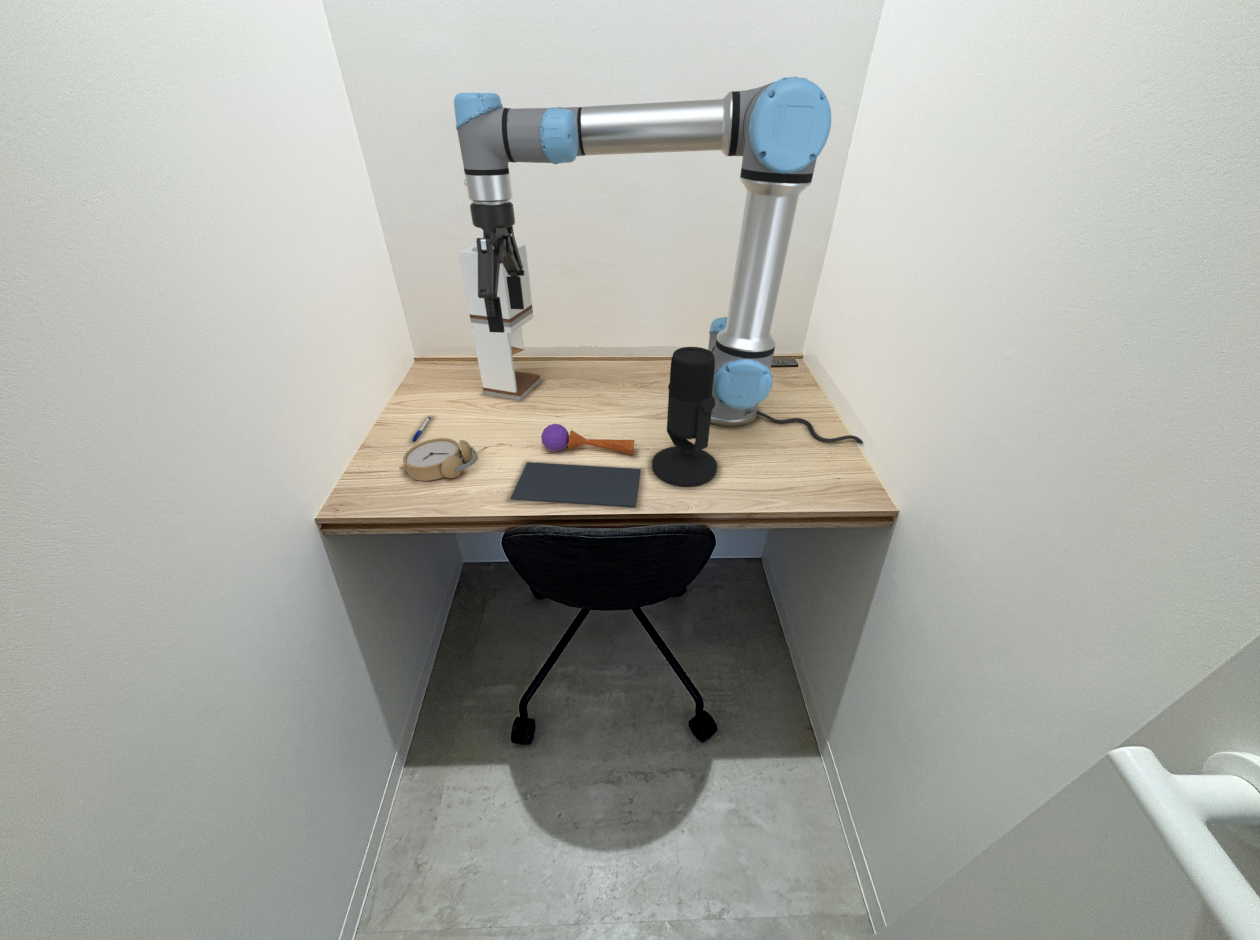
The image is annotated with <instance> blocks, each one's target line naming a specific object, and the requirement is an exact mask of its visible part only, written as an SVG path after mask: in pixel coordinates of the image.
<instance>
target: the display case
mask: <svg viewBox="0 0 1260 940" xmlns="http://www.w3.org/2000/svg"><path fill="white" fill-rule="evenodd" d="M517 248H518V251H519V255H520V258H521V262H522V266H523V269H522V270H524V276H519V277H520V279H521V287H522V295H523V304H524V309H511V308H510V300H509V293H508V286H507V278H506V277H507V276H510V275H508V274H507V271H506V269H505V267H504V265H503V263H501V264H500V270H499V281H498V292H497V297H500V303H501V310H502V317H503V324H504V330H505V331H504V333H499V332H490V331H489V325H488V319H487V313H486V307H485V301H484V298H479V297H478V250H477V244H475V245H472V246H469V247H466V248H464V249H462V250H460V251H457V254H458V260H459V265H460V266H459V267H460V271H461V275H462V281H463V287H464V291H465V292H464V293H465V297H466V304H467V309H468V314H469V319H470V326H471V330H472V331H471V332H472V336H473V337H472V338H473V342H474V347H475V353H476V357H477V364H478V368H479V374H480V380H481V384H482V390H483V395H485V396H490V397H497V398H503V399H509V400H514V401H522V400H523V399H525V397H526V396H527V395H528V394H529V393H531V392H532V391H533V390H534V389H535V388H536V387H537V386H538V385H539V384H540V383H541V375H540V374H535V373H529V372H522V371H517V370H515V365H514V359H513V356H514V355H516V354H519V353H521V352H523V351H525V343H524V335H523V329H522V327H523V326H524V325H525V324H527V323H528V322H530V321H531V320H533V319H534V311H533V300H532V292H531V283H530V273H529V263H528V254H527V245H526V244H520V245H517ZM517 264H518V263H517ZM487 291H488V290H487Z"/></svg>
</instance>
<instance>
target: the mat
mask: <svg viewBox="0 0 1260 940" xmlns="http://www.w3.org/2000/svg"><path fill="white" fill-rule="evenodd" d="M641 472H642V471H641V468H632V467H631V468H629V467H613V466H599V465H597V466H596V465H581V464H563V463H547V462H530V461H527V462H526V463H525V465H524V468H523V470H522V473H521V474H520V476H519V479H518V481H517V483H516V485H515V488H514V490H513V492H512V494H511V495H510V500H515V501H516V500H517V501H530V502H531V501H532V502H545V503H561V504H575V505H592V506H606V507H619V508H621V507H622V508H637V507H636V506H637V500H638V492H639V485H640V477H641Z"/></svg>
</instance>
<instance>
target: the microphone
mask: <svg viewBox="0 0 1260 940" xmlns="http://www.w3.org/2000/svg"><path fill="white" fill-rule="evenodd" d="M670 360H671V361H670V371H669V383H668V387H667V388H668V398H667V400H668V401H667V416H666V417H667V418H666V433H667V434H668V436H669V438H670V440H671V442H672V444H673V446H669V447H666V448H664V449H661V450H660V451H658V452H657V453H656V454H655V455H654V456H653V458H652V461H651V469H652V472H653V474H654V475H655V476H656V477H657V478H658V479H659V480H661V481H662V482H664V483H666V484H669V485H671V486H675V487H681V488H692V487H699V486H702V485H705V484H708V483H710V482H711V481H712V480H713V479H714V478H715V477H716V475H717V472H718V463H717V461H716V459H715V457H714V456H712V455H711V454H710V453H709V452H707V451H706V450H705V449H707V448H708V446H709V438H710V437H709V436H710V429H711V423H710V422H711V413H712V409H713V408H714V407H715V399H714V397H713V396H712V389H713V380H714V370H715V358H714V354H713V353H712V352H711V351H709V350H708V348H704V347H700V346H683V347H679V348H677V349H676V350H674V351H673V353H672V356H671V359H670ZM693 439H694V443H693V442H691V441H690V440H693Z"/></svg>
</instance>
